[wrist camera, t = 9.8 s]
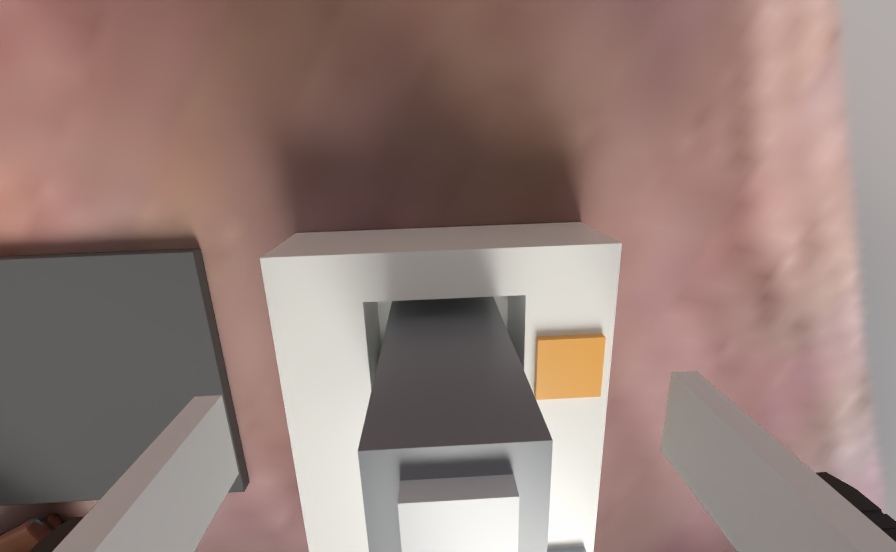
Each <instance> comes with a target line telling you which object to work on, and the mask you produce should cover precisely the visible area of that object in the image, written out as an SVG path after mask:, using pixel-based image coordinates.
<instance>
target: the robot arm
mask: <svg viewBox="0 0 896 552" xmlns="http://www.w3.org/2000/svg"><path fill="white" fill-rule="evenodd" d="M661 451H662V452H663V454H664V455H665V456H666V458H667V459H668V460H669V462H670V463H671V464H672V466H673V467H674V468H675V470H676V471H677V472H678V474H679V475H680V476H681V478H682V479H683V480H684V482H685V483H686V484H687V486H688V487H689V488H690V490H691V491H692V492H693V494H694V495H695V496H696V498H697V499H698V500H699V502H700V503H701V504H702V506H703V507H704V508H705V510H706V511H707V512H708V514H709V515H710V516H711V518H712V519H713V520H714V522H715V523H716V524H717V526H718V527H719V528H720V530H721V531H722V532H723V534H724V535H725V536H726V538H727V539H728V540H729V542H730V543H731V544H732V546H733V547H734V548H735V550H736V551H737V552H896V521H895V520H893V519H892V518H891V517H890V516H889V515H887V514H883V513H882V511H881V509H880V508H879V507H877V506H876V505H875V504H874V503H873V502H871V501H870V500H869V499H868V498H866V497H865V496H864V495H863V494H862V493H860V492H859V491H858V490H857V489H855V488H853V487H851V486H850V485H848V484H846V483H844V482H843V481H841V480H839V479H837V478H835V477H834V476H832V475H830V474H828V473H827V472H820V473H815V472H814V471H813V470H811V469H810V468H809V467H808V466H807V465H806V464H804V463H803V462H802V461H801V460H800V459H799V458H797V457H796V456H795V455H794V454H793V453H792V452H790V451H789V450H788V449H787V448H786V447H785V446H783V445H782V444H781V443H780V442H779V441H778V440H776V439H775V438H774V437H773V436H772V435H771V434H769V433H768V432H767V431H766V430H765V429H764V428H762V427H761V426H760V425H759V424H758V423H757V422H755V421H754V420H753V419H752V418H751V417H750V416H748V415H747V414H746V413H745V412H744V411H743V410H741V409H740V408H739V407H738V406H737V405H736V404H734V403H733V402H732V401H731V400H730V399H729V398H727V397H726V396H725V395H724V394H723V393H722V392H721V391H719V390H718V389H717V388H716V387H715V386H714V385H712V384H711V383H710V382H709V381H708V380H707V379H705V378H704V377H703V376H702V375H701V374H700V373H698V372H697V371H691V372H672V373H671V380H670V387H669V394H668V401H667V408H666V415H665V422H664V429H663V437H662V444H661ZM238 474H239V472H238V468H237V463H236V458H235V454H234V449H233V445H232V440H231V435H230V431H229V426H228V422H227V417H226V412H225V408H224V403H223V398H222V395H214V396H195V397H194V398H193V399H192V400H191V401H190V402H189V403H188V404H187V405H186V406H185V408H184V409H183V410H182V411H181V412H180V413H179V414H178V415H177V416H176V417H175V418H174V420H173V421H172V422H171V423H170V424H169V425H168V426H167V427H166V428H165V429H164V430H163V432H162V433H161V434H160V435H159V436H158V437H157V438H156V439H155V440H154V441H153V442H152V444H151V445H150V446H149V447H148V448H147V449H146V450H145V451H144V452H143V453H142V454H141V456H140V457H139V458H138V459H137V460H136V461H135V462H134V463H133V464H132V465H131V466H130V468H129V469H128V470H127V471H126V472H125V473H124V474H123V475H122V476H121V477H120V478H119V480H118V481H117V482H116V483H115V484H114V485H113V486H112V487H111V488H110V489H109V490H108V492H107V493H106V494H105V495H104V496H103V497H102V498H101V499H100V500H99V501H98V502H97V504H96V505H95V506H94V507H93V508H92V509H91V510H90V511H89V512H88V513H87V514H86V516H85V517H75V518H70V519H69V520H67V521H66V522H65V523H63V524H62V525H60V526H59V527H58V528H56V529H55V530H53V531H52V532H51V533H49V534H48V535H46V536H45V537H44V538H42V539H41V540H40V541H39V542H38V543H37V544H36V545H35V546H34V547H33V548H32V549H31V550H30V551H29V552H194V551H195V549H196V548H197V546H198V544H199V542H200V541H201V539H202V537H203V535H204V534H205V532H206V530H207V528H208V527H209V525H210V523H211V521H212V520H213V518H214V516H215V514H216V513H217V511H218V509H219V507H220V506H221V504H222V502H223V500H224V499H225V497H226V495H227V493H228V492H229V490H230V488H231V486H232V485H233V483H234V481H235V479H236V478H237V476H238Z"/></svg>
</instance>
